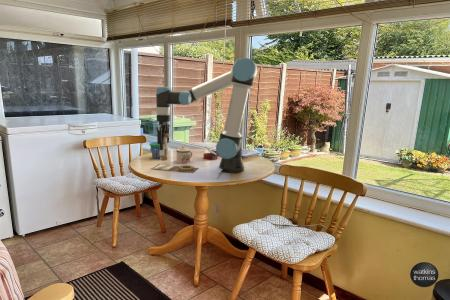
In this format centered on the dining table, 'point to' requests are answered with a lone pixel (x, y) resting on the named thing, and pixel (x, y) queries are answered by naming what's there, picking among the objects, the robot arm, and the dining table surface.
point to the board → (176, 168)
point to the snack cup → (155, 150)
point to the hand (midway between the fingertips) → (163, 154)
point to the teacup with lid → (183, 155)
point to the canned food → (210, 155)
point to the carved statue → (165, 148)
